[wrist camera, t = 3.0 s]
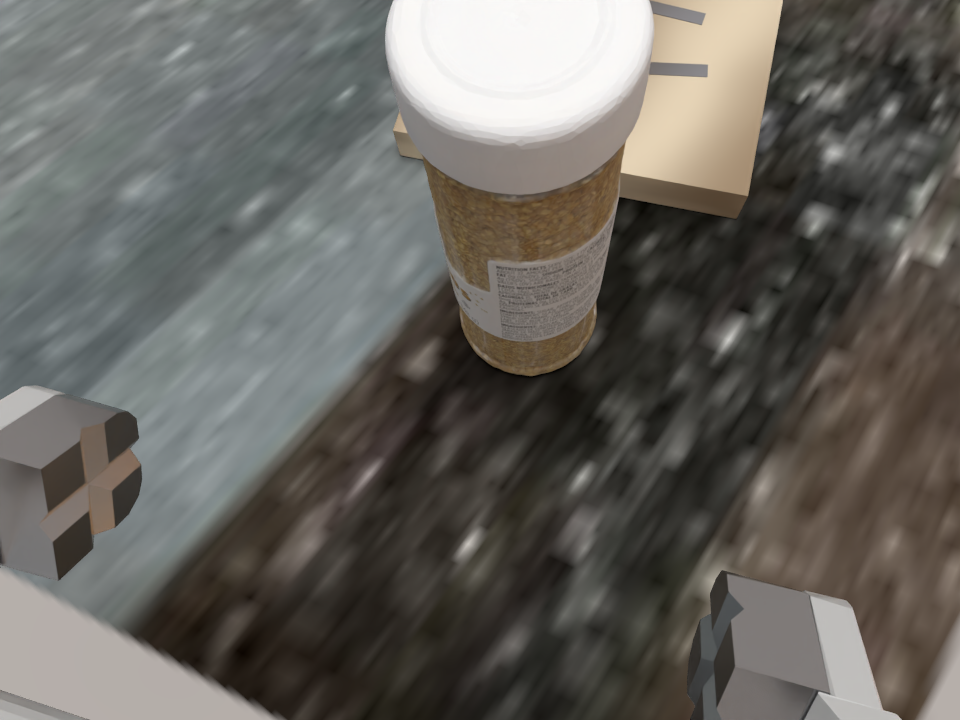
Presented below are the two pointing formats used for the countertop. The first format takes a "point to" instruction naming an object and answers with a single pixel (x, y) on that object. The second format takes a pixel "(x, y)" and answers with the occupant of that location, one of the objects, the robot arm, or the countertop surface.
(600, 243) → the sprinkles bottle
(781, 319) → the countertop surface
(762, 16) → the maple board
